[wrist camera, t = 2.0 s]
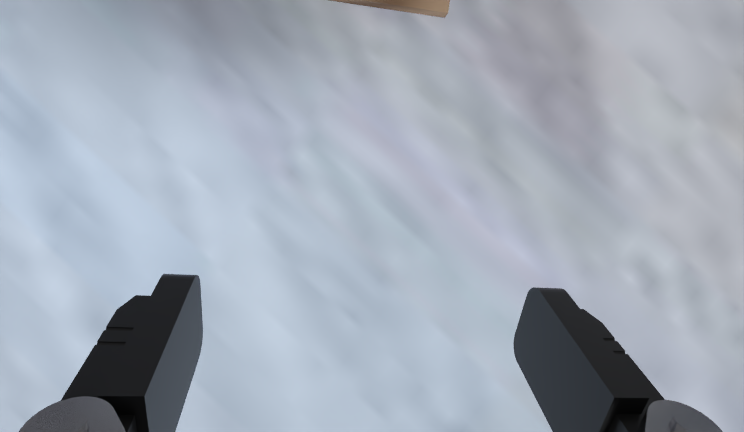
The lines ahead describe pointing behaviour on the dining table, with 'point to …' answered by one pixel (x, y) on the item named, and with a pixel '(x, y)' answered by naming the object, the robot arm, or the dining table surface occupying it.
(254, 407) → the dining table surface
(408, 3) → the flanged sleeve
